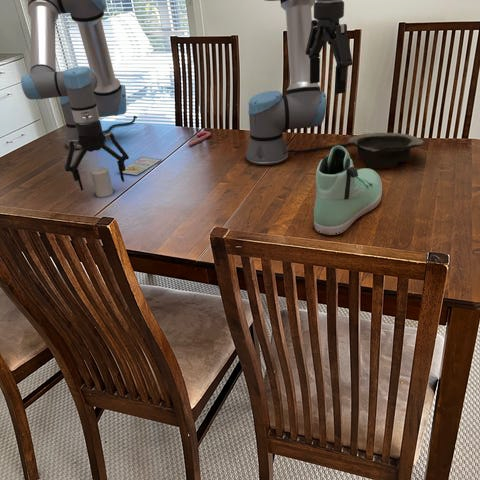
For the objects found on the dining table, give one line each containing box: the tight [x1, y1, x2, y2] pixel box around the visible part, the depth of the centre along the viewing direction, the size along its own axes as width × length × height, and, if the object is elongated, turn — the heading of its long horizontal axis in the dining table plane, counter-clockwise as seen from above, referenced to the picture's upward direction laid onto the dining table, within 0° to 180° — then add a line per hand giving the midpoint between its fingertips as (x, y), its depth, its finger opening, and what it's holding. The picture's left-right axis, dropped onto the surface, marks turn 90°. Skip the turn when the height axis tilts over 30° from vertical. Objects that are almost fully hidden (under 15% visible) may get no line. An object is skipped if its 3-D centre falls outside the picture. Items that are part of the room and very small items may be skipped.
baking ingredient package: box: [117, 157, 161, 176], centre depth 177 cm, size 9×1×15 cm
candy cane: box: [188, 130, 212, 147], centre depth 198 cm, size 6×15×2 cm, turn 145°
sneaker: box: [313, 146, 383, 236], centre depth 133 cm, size 14×35×20 cm, turn 152°
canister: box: [90, 166, 114, 198], centre depth 158 cm, size 6×6×8 cm
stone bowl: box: [347, 132, 426, 170], centre depth 165 cm, size 25×25×9 cm
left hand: (102, 184), depth 158 cm, fingers open, 13 cm apart
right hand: (326, 87), depth 130 cm, fingers open, 13 cm apart
